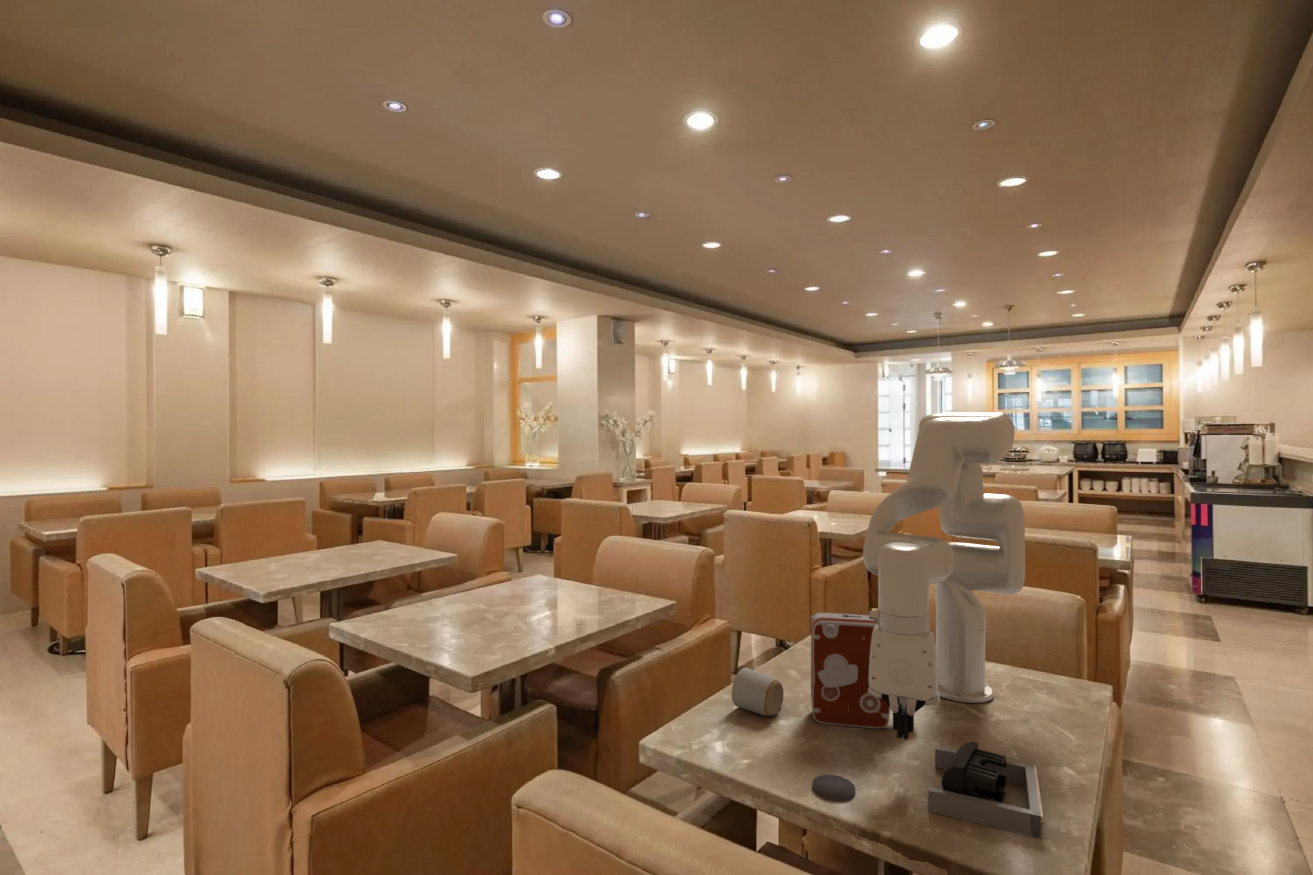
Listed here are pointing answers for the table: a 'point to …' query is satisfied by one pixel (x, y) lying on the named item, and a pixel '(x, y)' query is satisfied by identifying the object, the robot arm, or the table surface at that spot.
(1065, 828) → the table surface
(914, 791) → the table surface
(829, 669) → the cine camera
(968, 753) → the end cap
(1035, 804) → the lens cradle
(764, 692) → the ceramic mug
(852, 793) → the lens cap
